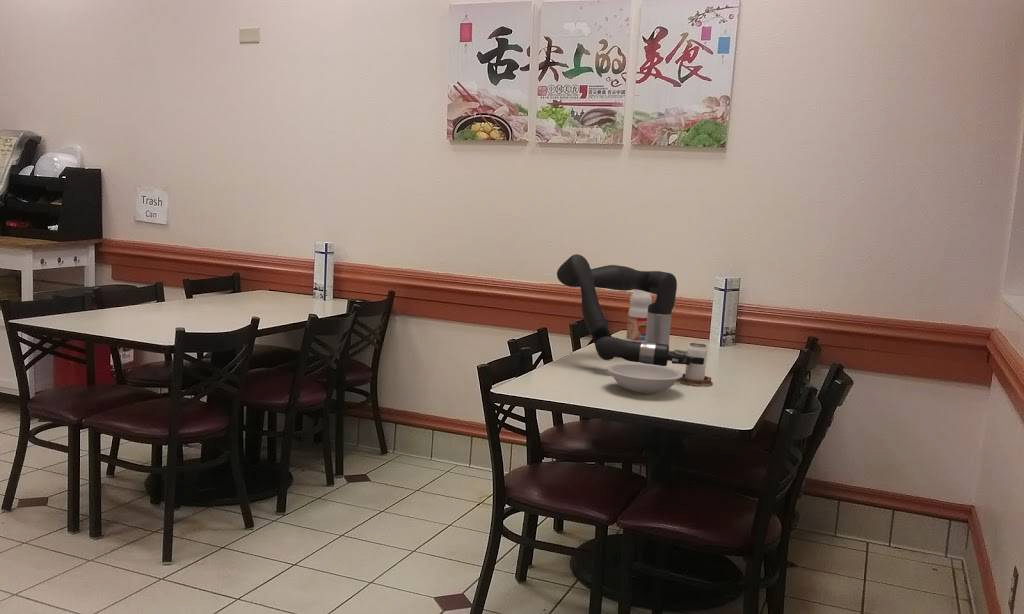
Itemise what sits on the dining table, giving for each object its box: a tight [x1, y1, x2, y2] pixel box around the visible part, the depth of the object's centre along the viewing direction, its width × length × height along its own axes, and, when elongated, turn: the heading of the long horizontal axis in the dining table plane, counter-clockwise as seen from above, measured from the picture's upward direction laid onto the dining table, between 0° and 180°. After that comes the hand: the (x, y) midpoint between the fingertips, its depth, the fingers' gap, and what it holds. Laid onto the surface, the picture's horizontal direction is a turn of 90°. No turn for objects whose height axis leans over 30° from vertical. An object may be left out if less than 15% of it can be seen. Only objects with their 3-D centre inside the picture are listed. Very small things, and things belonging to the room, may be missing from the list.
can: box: [684, 342, 708, 380], centre depth 284 cm, size 6×6×12 cm
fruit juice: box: [625, 289, 653, 342], centre depth 351 cm, size 9×9×28 cm
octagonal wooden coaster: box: [676, 373, 714, 387], centre depth 285 cm, size 12×12×2 cm
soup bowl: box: [606, 362, 684, 394], centre depth 267 cm, size 24×24×7 cm
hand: (704, 359), depth 283 cm, fingers closed on can, 5 cm apart
